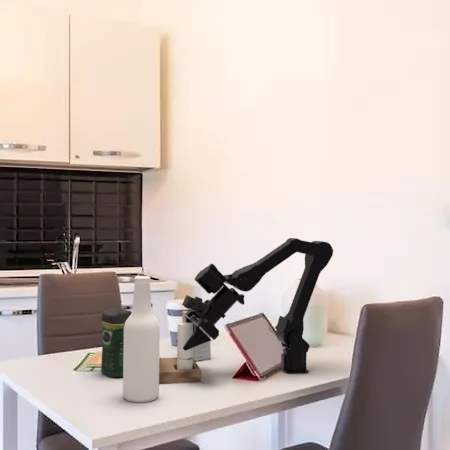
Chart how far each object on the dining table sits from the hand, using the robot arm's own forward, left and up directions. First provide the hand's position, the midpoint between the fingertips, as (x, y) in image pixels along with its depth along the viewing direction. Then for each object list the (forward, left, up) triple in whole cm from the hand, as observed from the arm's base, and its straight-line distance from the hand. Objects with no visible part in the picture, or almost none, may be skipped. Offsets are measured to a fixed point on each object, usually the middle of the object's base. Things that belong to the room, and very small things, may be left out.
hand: (180, 345), depth 163 cm
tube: (-1, 0, -9) cm, 9 cm away
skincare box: (-8, -22, -9) cm, 25 cm away
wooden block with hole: (+2, -3, -9) cm, 10 cm away
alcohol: (+12, +16, -9) cm, 22 cm away
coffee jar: (+17, -7, -9) cm, 21 cm away
